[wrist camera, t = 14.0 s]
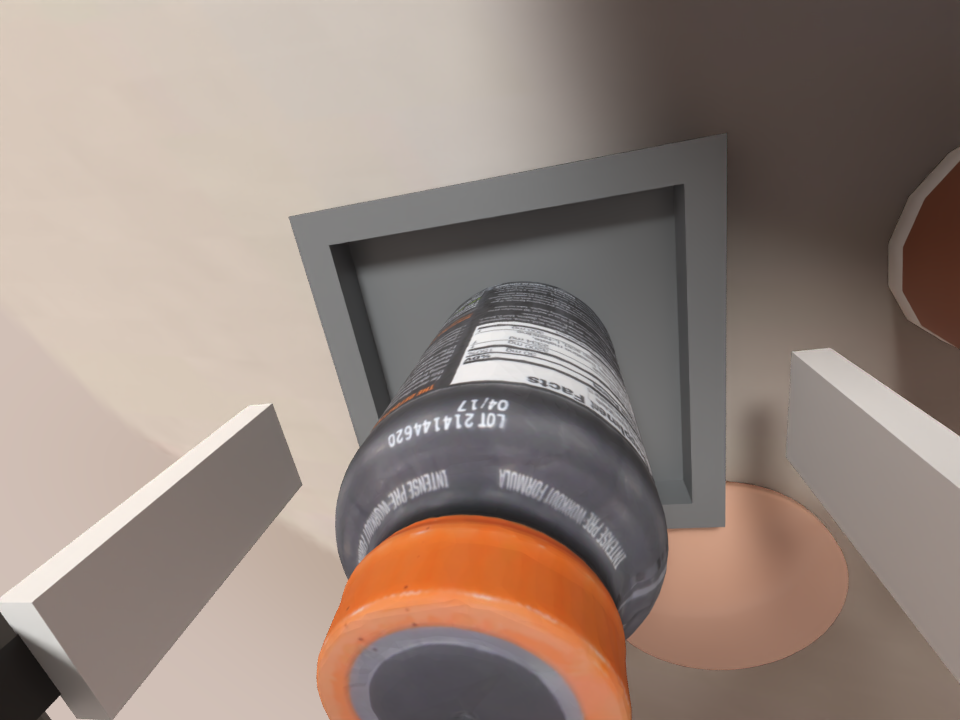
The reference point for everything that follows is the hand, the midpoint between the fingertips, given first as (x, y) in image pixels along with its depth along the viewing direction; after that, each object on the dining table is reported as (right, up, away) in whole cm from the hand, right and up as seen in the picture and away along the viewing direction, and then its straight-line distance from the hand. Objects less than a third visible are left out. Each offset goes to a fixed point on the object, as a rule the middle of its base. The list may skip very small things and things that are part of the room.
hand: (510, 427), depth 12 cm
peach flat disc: (+8, -7, +7) cm, 13 cm away
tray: (+1, +2, +4) cm, 5 cm away
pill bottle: (+1, +2, +4) cm, 4 cm away
